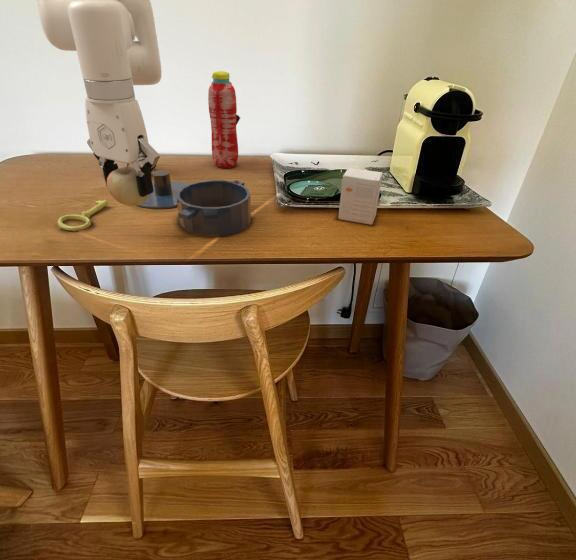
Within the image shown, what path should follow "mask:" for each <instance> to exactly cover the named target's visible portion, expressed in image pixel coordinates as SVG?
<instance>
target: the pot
mask: <svg viewBox="0 0 576 560" xmlns="http://www.w3.org/2000/svg"><path fill="white" fill-rule="evenodd" d="M251 201H252V200H251V192H250V189H249V188H248V187H247V186H245V182H243V181H239V180H234V181H230V180H222V179H221V180H219V179H210V180H209V179H208V180H200V181H195V182H192V183H188V185H186V186H184V187H182V188H181V189H180V190H179V191H178V192H177V205H178V207H177V217H178V220H179V225H180V226H181V227H183V229H185V230H187V231H189V232H191V233H193V234H194V233H195V234H199V235H205V236H216V238H220V237H221V238H222V237H228V236H232V235H235V234H238V233H241V232H243V231H244V230H245V229H246V228H248V227H249V225H250V223H251V221H252V220H251V219H252V210H251V209H252V207H251Z"/></svg>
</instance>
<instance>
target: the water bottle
mask: <svg viewBox="0 0 576 560" xmlns="http://www.w3.org/2000/svg"><path fill="white" fill-rule="evenodd" d="M211 78H212V81H211V82H210V83H211V84H210V85H209V88H208V94H207V95H208V96H207V102H208V112H209V113H208V114H209V120H210V130H211V156H212V157H211V158H212V161H213V162H214V164H215V166H216V167H217V168H220V169H232V168H234V167H236V166H237V163H238V159H239V143H238V133H237V124H239V121H240V120H241V117H240V115H238V114H237V111H238V109H237V95H236V89H235V87H234V85H233V84H232V82H231V81H230V72H227V71H222V70H221V71H220V70H218V71H214V72H212V76H211Z"/></svg>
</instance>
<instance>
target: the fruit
mask: <svg viewBox="0 0 576 560" xmlns="http://www.w3.org/2000/svg"><path fill="white" fill-rule="evenodd" d="M128 166H129V164H128V163H127V167H122V168H119V169H116V170H114V171H112V172H111V173H110V174H109V176H108V178H107V186H106V188H107V190H108V192H109V194H110V196H111V197H112V198H113V199H114V200H115V201H116V202H118V203H119V204H121V205H124V206H129V207H137V206H136V205H140V204H142V203H143V202H145V201H146V200H147V199H148V197H149V195H146V196H144V197H141V196H140V195H139V191H138V186H137V181H136V176H138V173H137V172H136V170H135V168H134V167H128Z"/></svg>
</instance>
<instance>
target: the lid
mask: <svg viewBox="0 0 576 560" xmlns="http://www.w3.org/2000/svg"><path fill="white" fill-rule="evenodd" d="M151 177H152V184H153V190H154V191H153V193H151V194H149V197H148V199H147V200H146V201H145V202H143V203H142V204H140V205H136V206H135V207H139V208H144V209H149V210H150V209H151V210H166V209H173V208H174V209H175V208H178V205H177V192H178V191H179V190H180V189H181V188H182V187H184V186H186V185H188V184H189V183H188V182H184V181H177V180H171V173H170V171H169V170H167V169H166V170H164V169H159V170H154V171H153V173H152V174H151Z"/></svg>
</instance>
